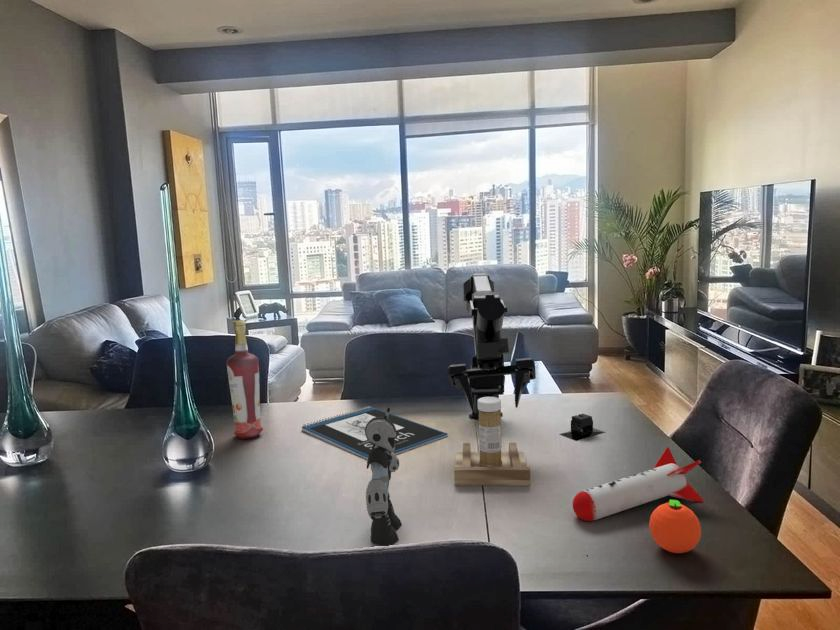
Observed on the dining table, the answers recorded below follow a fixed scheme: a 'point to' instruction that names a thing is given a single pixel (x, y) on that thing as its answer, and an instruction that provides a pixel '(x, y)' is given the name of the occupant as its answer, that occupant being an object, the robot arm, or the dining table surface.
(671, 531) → the clementine
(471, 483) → the cradle jig
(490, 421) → the sprinkles bottle
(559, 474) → the dining table surface
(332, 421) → the sketchbook
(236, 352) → the liquor
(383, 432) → the robot
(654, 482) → the model rocket
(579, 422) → the black angular piece
